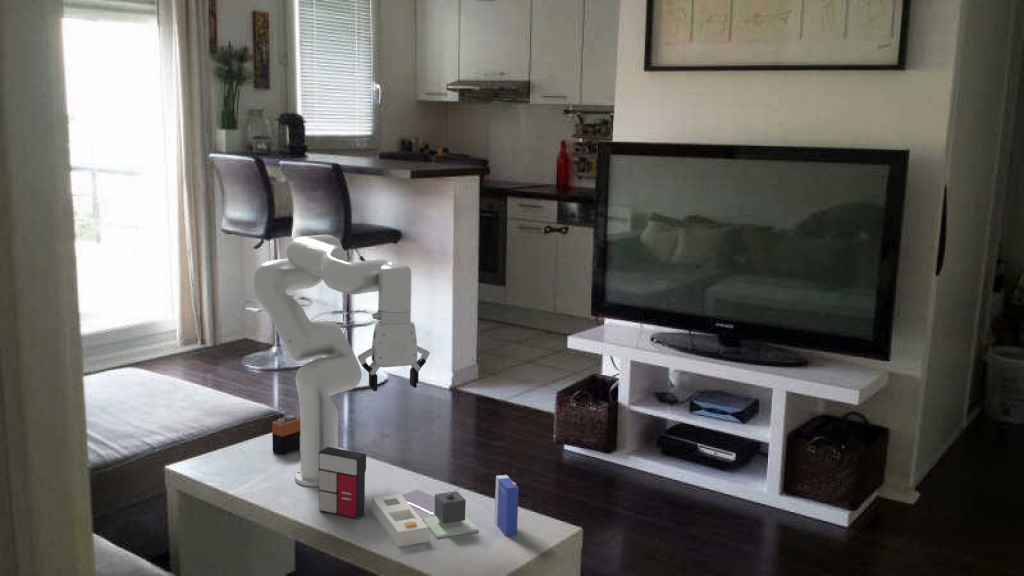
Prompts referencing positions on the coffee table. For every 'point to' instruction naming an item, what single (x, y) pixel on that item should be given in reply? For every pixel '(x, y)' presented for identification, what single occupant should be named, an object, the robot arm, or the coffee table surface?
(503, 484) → the walkman
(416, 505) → the mobile phone
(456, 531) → the mat
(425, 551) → the coffee table surface
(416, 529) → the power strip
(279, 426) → the battery
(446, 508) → the grey knobbed block
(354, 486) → the red grey panelled box
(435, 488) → the coffee table surface
